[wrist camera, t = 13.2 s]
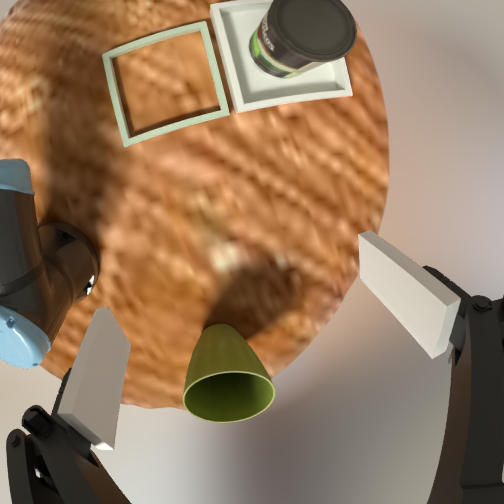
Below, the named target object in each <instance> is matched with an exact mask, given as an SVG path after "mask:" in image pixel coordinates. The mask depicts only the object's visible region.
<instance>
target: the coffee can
mask: <svg viewBox="0 0 504 504" xmlns="http://www.w3.org/2000/svg"><path fill="white" fill-rule="evenodd" d="M356 37H357V29H356V24H355V21H354V18H353V16H352V14H351V13H350V11H349V10H348V8H347V7H346V6H345V5H344V4H343V3H342V2H341V1H340V0H273V2H272V3H271V6H270V8H269V10H268V11H267V13H266V14H265V16H264V17H263V19H262V21H261V22H260V24H259V25H258V27H257V28H256V30H255V31H254V32H253V34H252V35H251V37H250V39H249V43H248V53H249V56H250V58H251V60H252V62H253V64H254V65H255V66H256V67H257V68H258V69H259V70H260V71H261V72H263V73H264V74H266V75H268V76H271V77H274V78H278V79H290V78H294V77H297V76H299V75H301V74H302V73H304V72H307V71H309V70H311V69H313V68H316V67H318V66H320V65H323V64H325V63H327V62H331V61H335V60H338V59H340V58H342V57H344V56H345V55H347V54H348V53H349V52H350V51H351V50H352V48H353V46H354V44H355V41H356Z"/></svg>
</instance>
